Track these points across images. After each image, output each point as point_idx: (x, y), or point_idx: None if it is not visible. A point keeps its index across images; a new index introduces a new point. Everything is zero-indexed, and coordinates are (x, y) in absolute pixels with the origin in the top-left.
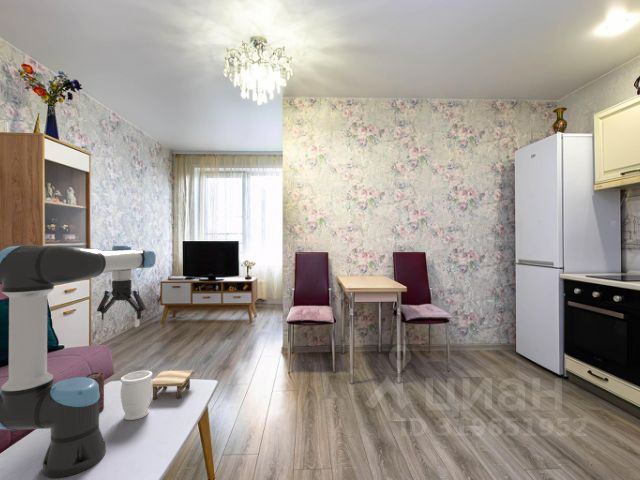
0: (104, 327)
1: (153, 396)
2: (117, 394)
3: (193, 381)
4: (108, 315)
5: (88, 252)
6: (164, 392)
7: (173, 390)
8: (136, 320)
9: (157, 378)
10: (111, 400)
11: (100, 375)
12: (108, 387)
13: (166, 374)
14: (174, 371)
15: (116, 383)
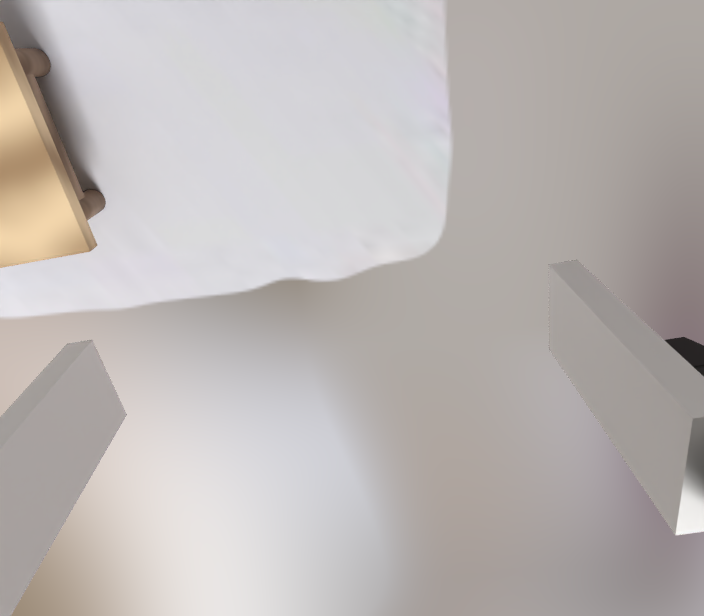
0: (560, 263)
1: (24, 48)
2: (305, 87)
3: (8, 296)
4: (633, 460)
5: None
6: None
7: None
8: (6, 410)
9: (10, 126)
10: (278, 2)
11: None
12: (428, 168)
13: (10, 199)
14: (2, 251)
15: (419, 222)
